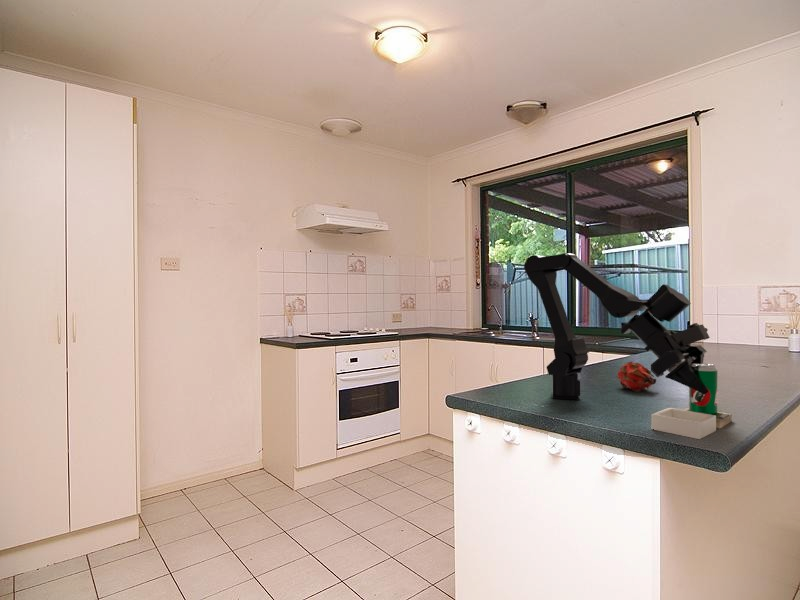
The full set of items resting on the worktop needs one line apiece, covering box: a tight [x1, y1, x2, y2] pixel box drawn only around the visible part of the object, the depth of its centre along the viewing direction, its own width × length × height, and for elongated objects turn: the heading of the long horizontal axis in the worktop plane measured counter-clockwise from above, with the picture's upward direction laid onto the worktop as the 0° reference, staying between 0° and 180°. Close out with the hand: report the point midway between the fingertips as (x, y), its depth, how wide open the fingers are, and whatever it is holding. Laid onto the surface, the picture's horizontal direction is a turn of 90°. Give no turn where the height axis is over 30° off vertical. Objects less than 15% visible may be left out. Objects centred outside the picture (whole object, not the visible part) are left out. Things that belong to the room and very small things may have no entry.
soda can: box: [688, 363, 719, 420], centre depth 99 cm, size 5×5×12 cm
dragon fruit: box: [616, 361, 657, 393], centre depth 131 cm, size 8×8×12 cm
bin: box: [650, 407, 717, 440], centre depth 92 cm, size 9×9×3 cm
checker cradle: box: [682, 406, 733, 429], centre depth 99 cm, size 8×8×2 cm
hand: (710, 390), depth 98 cm, fingers closed on soda can, 5 cm apart
